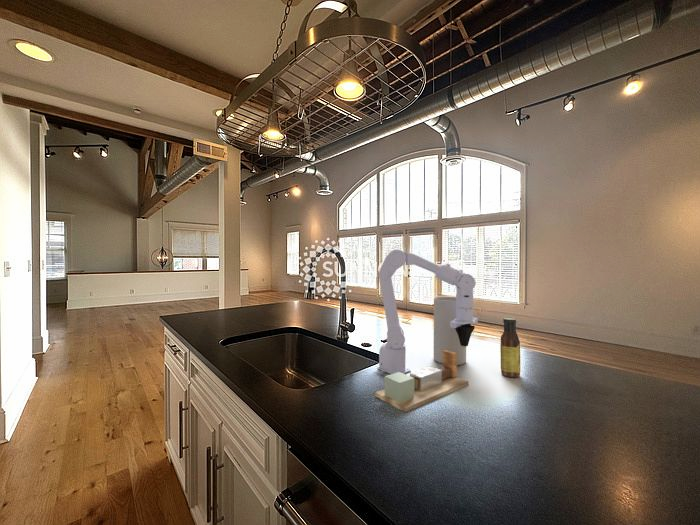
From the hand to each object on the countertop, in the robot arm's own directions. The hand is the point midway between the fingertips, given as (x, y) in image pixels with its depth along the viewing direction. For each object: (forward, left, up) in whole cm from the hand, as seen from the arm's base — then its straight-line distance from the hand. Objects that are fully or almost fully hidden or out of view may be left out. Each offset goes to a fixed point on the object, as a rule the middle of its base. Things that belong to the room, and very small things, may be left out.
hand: (464, 345), depth 109 cm
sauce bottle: (+10, +13, -10) cm, 19 cm away
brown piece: (0, -17, -9) cm, 19 cm away
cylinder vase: (-12, +9, -10) cm, 18 cm away
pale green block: (0, -33, -9) cm, 34 cm away
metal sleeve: (0, -21, -9) cm, 23 cm away
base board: (0, -22, -10) cm, 24 cm away
